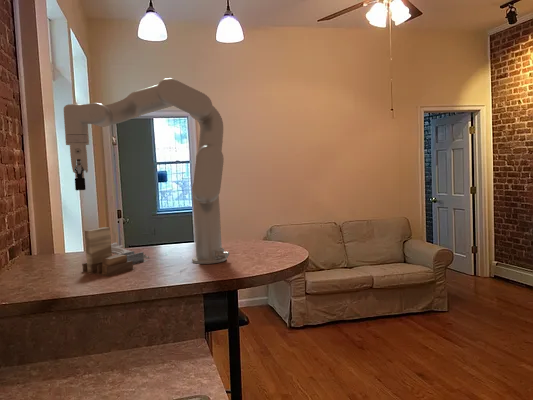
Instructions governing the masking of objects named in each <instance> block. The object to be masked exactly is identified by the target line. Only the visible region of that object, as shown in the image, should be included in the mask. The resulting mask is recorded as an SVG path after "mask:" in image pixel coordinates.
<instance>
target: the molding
mask: <svg viewBox="0 0 533 400" xmlns="http://www.w3.org/2000/svg"><path fill="white" fill-rule="evenodd" d="M111 250H112V254H114V255H118V254H122V253H126V252H131V251H132V250H130V249H126V248H124V245H123V244H121V245H119V243H118V242H113V243H111ZM143 254H144V259H146V260H149V259H150V256H149V255H147V254H145V253H143Z"/></svg>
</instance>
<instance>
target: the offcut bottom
mask: <svg viewBox="0 0 533 400" xmlns="http://www.w3.org/2000/svg"><path fill="white" fill-rule="evenodd" d="M106 267H107V266H102V274H107V268H106Z"/></svg>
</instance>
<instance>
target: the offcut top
mask: <svg viewBox="0 0 533 400" xmlns="http://www.w3.org/2000/svg"><path fill="white" fill-rule="evenodd" d="M114 255H115V256H113V255H112V256H110V257H106V258H102V264H103V266H107V267H108V266H112V265H116V264H120V263H124V262H127V255H121V254H119V255H118V254H114Z"/></svg>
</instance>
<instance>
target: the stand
mask: <svg viewBox="0 0 533 400" xmlns="http://www.w3.org/2000/svg"><path fill="white" fill-rule="evenodd" d="M130 251H131V252H126V253H122V254H121V255H127V262H128V261H133V266H134V265H137V264H140V263H141V264H142V263H145V262H149V261H150V260H149V259H145V258H144V254H145V253H144V251H140V252H136V253H135V251H134V250H130ZM115 255H116V254H112V256H115ZM117 255H119V254H117Z"/></svg>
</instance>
